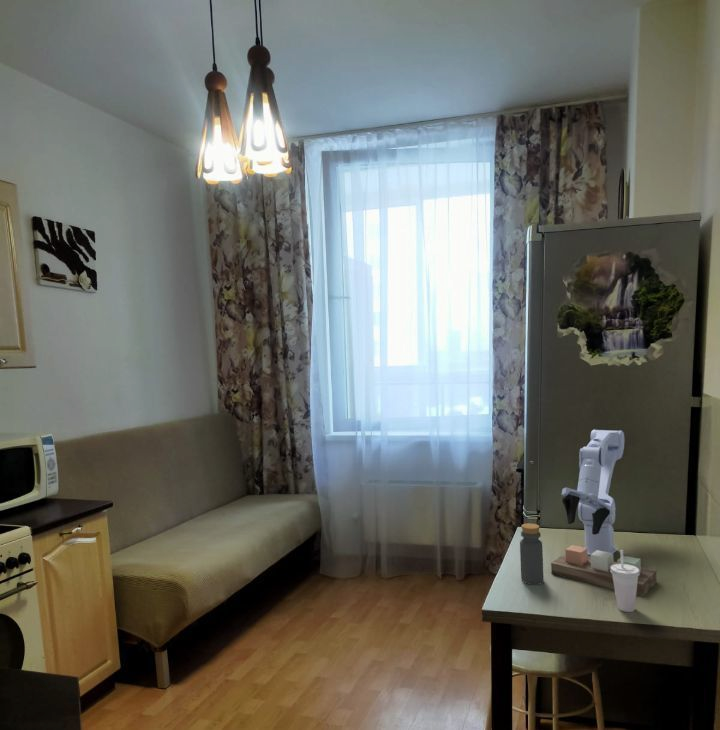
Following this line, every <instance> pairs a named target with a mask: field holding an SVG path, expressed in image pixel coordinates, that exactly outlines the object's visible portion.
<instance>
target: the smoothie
mask: <svg viewBox="0 0 720 730" xmlns="http://www.w3.org/2000/svg"><path fill="white" fill-rule="evenodd" d="M623 556H624V550H623V549H620V558H621V564H614V565H612V566H611V567H610V568H611V570H610V571H611V573H612V576H613V582H614V588H615V589H614V593H615V594H614V595H615V599H616V606H617V607H616V608H617V609H618V610H619V611H622V612H626V613H631V612H634V611H635V610H636V599H637V594H636V591H637V582H638V576H639V575H640V573H639V569H638V568H637V567H635V566H632V565H628V564H623Z"/></svg>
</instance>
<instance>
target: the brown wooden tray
mask: <svg viewBox="0 0 720 730" xmlns="http://www.w3.org/2000/svg"><path fill="white" fill-rule="evenodd" d="M613 563H614V564H617V561H613ZM550 565H551V567H550V568H551V574H552V575H555V574H556V575H555V576H559V575H561V576H560V577H563V576H564V577H563V578H569V579H571V578H572V580H576V581H580V582H583V583H584V582H585V583H588V584H593V585H596V586H601V587H605V588H608V589H613V590H615V588H614V582H613V576H612V573H611V571H609V572H607V571H603V570H598V569H594V568H591V556H590V555H588V562H587V563H585V564H584V565H583V566H581V565H576V564H572V563H568V562H566V552H565V553H564V554H562V555H561V556H559V557H558V558H556V559H555V560H553V561H552V562H551V563H550ZM657 579H658V577H657V570H654V569H650V568H646V567H641V574H640V575H639V576H638V582H637V591H636V596H637V595H638V596H640V597H641V596H642V597H644V596H645V595H646V594H647V593H648V592H649V591H650V590H651V589H652V588H651V587H654V585H656V583H658V582H657ZM650 588H651V589H650ZM649 589H650V590H649ZM648 590H649V591H648ZM647 591H648V592H647Z"/></svg>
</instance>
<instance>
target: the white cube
mask: <svg viewBox="0 0 720 730" xmlns="http://www.w3.org/2000/svg"><path fill="white" fill-rule="evenodd" d="M590 557H591V568H594V569H598V570H603V571H607V572H609V571H610V570H611V568H610V567H611V566H612V565H614V563H613V562H614V553H609V552H604V551H599V550H596V551H595V552H593V553H592V554H591V555H590Z"/></svg>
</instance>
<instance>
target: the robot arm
mask: <svg viewBox="0 0 720 730" xmlns="http://www.w3.org/2000/svg"><path fill="white" fill-rule="evenodd" d="M624 449H625V433H624V431H623V430H605V429H593V430H591V432H590V441H589V443H587V445H586V446H583V447H581V448H580V449H579V453H578V454H579V457H578V458H579V461H578V463H579V464H578V467H579V474H578V480H577V481H578V483H577V488H576V489H573V488H569V487H564V488H562V489H561V490H562V491H561V496H563V498H562V500H561V502H562V504H563V505H564V508H565V514H566V519H567V523H568V524H569V525H571V524H573V523H575V520H576V515H577V514H578V518H579V520H580V521H581V522H582V524H583V527H584V548H587V551H588V556H591V554H592V553H593V552H595V551H596V550H599V551H604V552H609V553H613V554H615V552H617V551H618V549H619V548H616V547H615V533H614V527H613V525H614V523H615V520H616V502H615V499H614V498H613V497H612V496H610V495H609V492H610V487H611V483H612V482H611V481H612V476H613V473H614V468H615V465H616V462H617V461H618V460H620V459H622V458H623V454H624Z"/></svg>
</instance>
